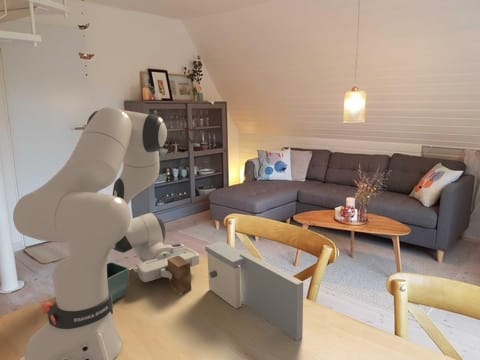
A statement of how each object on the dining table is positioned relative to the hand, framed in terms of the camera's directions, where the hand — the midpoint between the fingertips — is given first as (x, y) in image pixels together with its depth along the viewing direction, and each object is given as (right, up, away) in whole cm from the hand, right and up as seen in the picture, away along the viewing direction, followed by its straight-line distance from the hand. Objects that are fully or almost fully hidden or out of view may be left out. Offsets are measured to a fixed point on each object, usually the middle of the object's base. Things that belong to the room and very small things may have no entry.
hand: (180, 273), depth 114 cm
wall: (+21, -7, -12) cm, 25 cm away
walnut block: (0, -5, +2) cm, 5 cm away
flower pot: (-20, -7, -3) cm, 22 cm away
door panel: (+13, -6, -5) cm, 15 cm away
